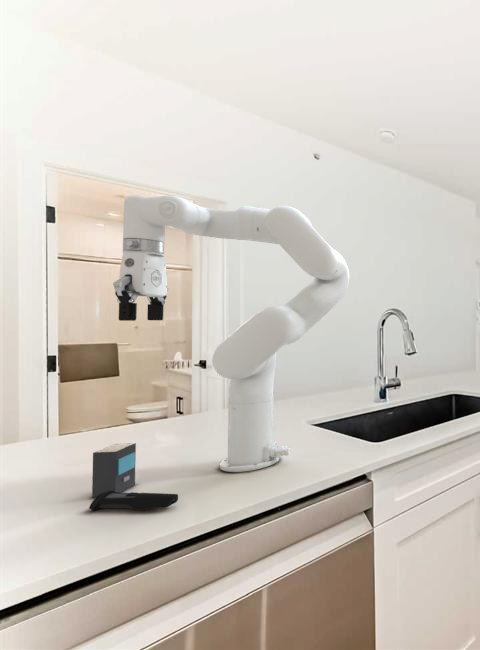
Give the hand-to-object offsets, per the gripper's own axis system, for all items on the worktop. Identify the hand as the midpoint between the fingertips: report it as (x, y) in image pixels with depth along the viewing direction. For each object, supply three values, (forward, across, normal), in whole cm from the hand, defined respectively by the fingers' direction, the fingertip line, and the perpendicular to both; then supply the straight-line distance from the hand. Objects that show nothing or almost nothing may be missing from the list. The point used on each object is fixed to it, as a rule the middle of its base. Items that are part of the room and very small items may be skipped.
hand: (142, 320), depth 101 cm
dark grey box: (+36, -13, -3) cm, 38 cm away
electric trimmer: (+36, -22, -13) cm, 44 cm away
